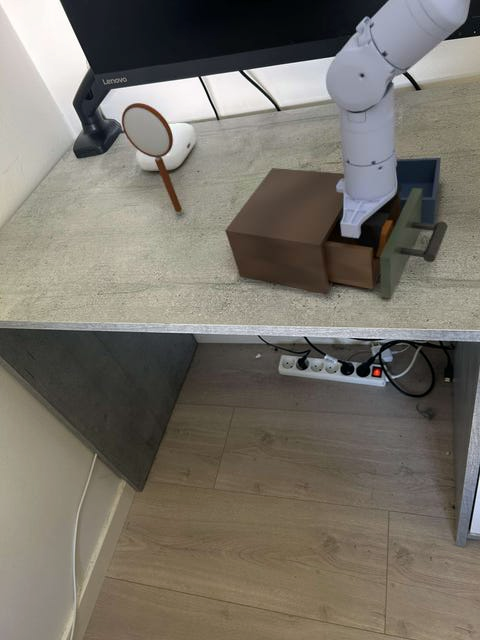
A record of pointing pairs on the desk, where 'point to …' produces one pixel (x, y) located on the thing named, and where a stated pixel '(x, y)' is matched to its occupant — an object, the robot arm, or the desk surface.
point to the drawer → (365, 268)
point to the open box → (420, 183)
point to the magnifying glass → (151, 139)
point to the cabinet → (287, 229)
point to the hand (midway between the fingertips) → (373, 244)
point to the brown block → (383, 236)
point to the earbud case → (180, 149)
